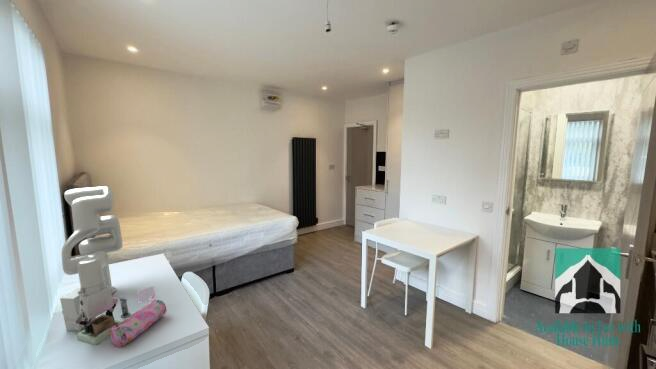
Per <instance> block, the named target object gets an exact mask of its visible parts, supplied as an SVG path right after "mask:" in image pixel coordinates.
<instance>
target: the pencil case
mask: <svg viewBox="0 0 656 369" xmlns="http://www.w3.org/2000/svg"><path fill="white" fill-rule="evenodd" d="M149 302H150V303H148V304H147V305H145V306H144V307H142V308H141V309H139V310H137V311H135V312H134V313H132V314H130V316H128V317H126V318H124V319H123V320H122V322H120V323H119V324H117V325H115V326H114V327H112V328H111V329H110V332H109V333H110V336H109V337H110V341H111V344H112V345H113V346H114V347H117V348H118V347H123V346H125V345H126V344H129V343H130V342H131V341H133V340H134V339H135V338H137V337H138V336H139V335H140V334H142V333H143V332H145V331H146V330H147V329H148V328H150V326H152V325H153V324H154V323H155V322H157V321H158V320H159V319H160V318H161V317H164V316H165V314H166V313H167V305H166V303H165V302H164V301H163V300H161V299H157V298H156V299H154V300H151V301H149Z"/></svg>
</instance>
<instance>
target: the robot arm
mask: <svg viewBox="0 0 656 369" xmlns="http://www.w3.org/2000/svg"><path fill="white" fill-rule="evenodd" d="M63 195H64V199H65V201H66V202H67V204H68V205H69V206H70V207H71V214H72V215H71V216H72V224H73V233H72V234H71V235H70V236H69V237H68V238H67V239H66V241H65V242H64V243H63V245H62V248H61V264H62V270H63V272H64V274H65V275H68V276H74V275H78V279H79V284H80V287H79V288H80V289H81V290H80V291H78V294H79V295H80V294H81V295H80V313H79V315H78V316H77V317H76V319H75V320H74V323H77V324H81V325H84V330H85V332H86V333H90V334H92V333H93V328H92V324H90V323H91V320H92V318H94V317H98V316H100V315H102V314H105V315H108V316H113V317H114V313H113V312H114V311H115V308H116V307H117V303H118V302H119V301H120V299H119V298H115V297H113V294H114V293H116V292H117V287H116V286H114V285H113V284H112V278H111V272H110V271H111V270H110V265H109V255H108V254H109V253H110V254H111V253H115V252H117V251H121V250H122V248H123V238H122V237H123V236H122V232H121V231H122V230H121V225H120V221H119V218H118V217H117V216H116V215H114V214H112V215H111V214H110V215H109V214H107V215H102V216H101V215H100V214H104V213H105V214H106V213H111V212H113V210H114V206H115V203H114V202H115V201H114V194H113V190H112V188H111V187H110V186H106V185H105V186H103V185H102V186H101V185H100V186H93V187H82V188H81V187H79V188H72V189H68V190H66V191H65V192H64V194H63ZM106 234H107V235H106ZM90 237H91V238H90ZM79 242H80V243H79ZM78 243H79V244H78ZM77 244H78V250H79V254H78V255H72V250H73V248H74V247H75V246H76V245H77ZM81 318H84V320H83V321H81Z"/></svg>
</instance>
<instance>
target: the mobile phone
mask: <svg viewBox="0 0 656 369" xmlns="http://www.w3.org/2000/svg"><path fill="white" fill-rule="evenodd" d="M137 299H138V300H137V302H138V304H144V303H147V302H151V301H152V300H154V299H156V300H157V295H156V291H155V287H154V286H151V287H150V286H149V287H147V288H144V289H140V290H138V291H137Z"/></svg>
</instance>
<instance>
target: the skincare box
mask: <svg viewBox="0 0 656 369" xmlns="http://www.w3.org/2000/svg"><path fill="white" fill-rule="evenodd" d="M80 288H81V287H76V288H75V289H73V290H72V291H70V292H68V293H67V294H64V295H63V296H62V297H60V298H59V300H60V305H61V310H62V316H63V321H64V325H65V330H66V331H69V332H70V331H71V332H72V331H77V332H78V331H79V332H81V330H83V328H84V329H85V327H84V325H81V324H77V323H74V320H75V319H76V317H77V316H78V315H79V313H80V295H81V294H80V295H79V294H78V291H80V290H81V289H80ZM96 317H97V316H96ZM96 317H94V318H92V320H93V319H95V318H96ZM83 320H84V318H81V321H83Z"/></svg>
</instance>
